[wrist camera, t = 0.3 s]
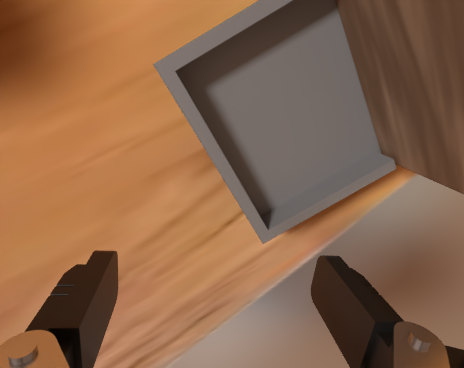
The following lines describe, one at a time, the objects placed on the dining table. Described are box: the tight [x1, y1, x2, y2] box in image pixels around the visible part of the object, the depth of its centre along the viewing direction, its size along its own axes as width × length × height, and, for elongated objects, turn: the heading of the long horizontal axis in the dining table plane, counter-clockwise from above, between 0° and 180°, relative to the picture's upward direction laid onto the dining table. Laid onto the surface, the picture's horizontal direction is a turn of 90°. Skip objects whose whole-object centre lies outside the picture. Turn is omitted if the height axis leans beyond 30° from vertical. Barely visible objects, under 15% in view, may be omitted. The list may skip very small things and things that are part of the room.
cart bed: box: [153, 0, 396, 244], centre depth 28 cm, size 18×20×6 cm
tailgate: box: [335, 0, 464, 194], centre depth 20 cm, size 2×20×16 cm, turn 29°
